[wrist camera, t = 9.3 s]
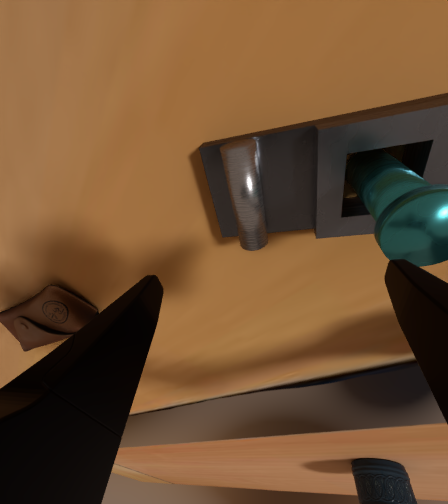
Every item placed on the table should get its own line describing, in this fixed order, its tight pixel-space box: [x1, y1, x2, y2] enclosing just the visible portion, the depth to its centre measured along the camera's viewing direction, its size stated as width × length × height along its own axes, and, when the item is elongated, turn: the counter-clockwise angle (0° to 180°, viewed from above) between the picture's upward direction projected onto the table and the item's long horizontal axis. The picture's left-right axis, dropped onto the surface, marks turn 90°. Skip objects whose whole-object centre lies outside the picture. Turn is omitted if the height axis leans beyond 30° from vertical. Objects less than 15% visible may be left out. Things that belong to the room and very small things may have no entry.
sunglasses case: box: [0, 285, 99, 351], centre depth 36 cm, size 18×7×7 cm
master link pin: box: [345, 148, 448, 267], centre depth 14 cm, size 4×4×9 cm
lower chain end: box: [199, 93, 448, 251], centre depth 17 cm, size 8×16×4 cm, turn 102°
